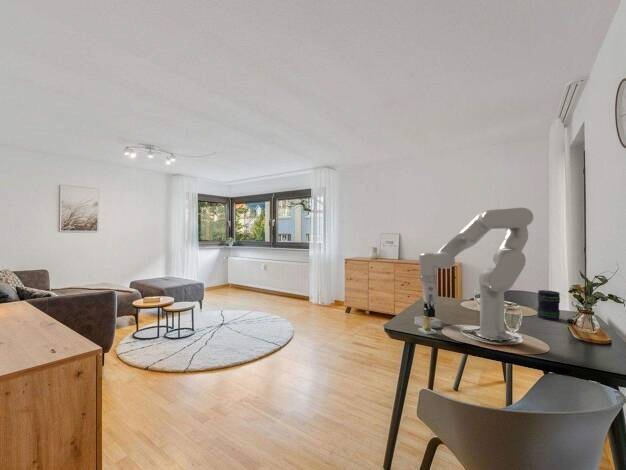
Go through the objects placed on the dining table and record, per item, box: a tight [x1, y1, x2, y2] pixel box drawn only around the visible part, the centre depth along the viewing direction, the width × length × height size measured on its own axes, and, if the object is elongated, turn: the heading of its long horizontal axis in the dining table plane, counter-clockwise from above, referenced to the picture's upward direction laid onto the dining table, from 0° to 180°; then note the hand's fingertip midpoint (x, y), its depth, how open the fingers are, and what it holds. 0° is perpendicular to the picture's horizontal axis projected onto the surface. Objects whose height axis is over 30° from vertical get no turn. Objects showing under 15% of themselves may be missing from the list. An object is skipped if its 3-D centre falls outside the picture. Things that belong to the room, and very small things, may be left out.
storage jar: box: [537, 289, 561, 322], centre depth 171 cm, size 10×10×15 cm
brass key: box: [422, 308, 432, 331], centre depth 146 cm, size 4×4×10 cm
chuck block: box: [414, 315, 442, 329], centre depth 157 cm, size 12×9×4 cm
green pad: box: [417, 327, 437, 335], centre depth 145 cm, size 6×6×1 cm
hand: (429, 314), depth 145 cm, fingers open, 9 cm apart
